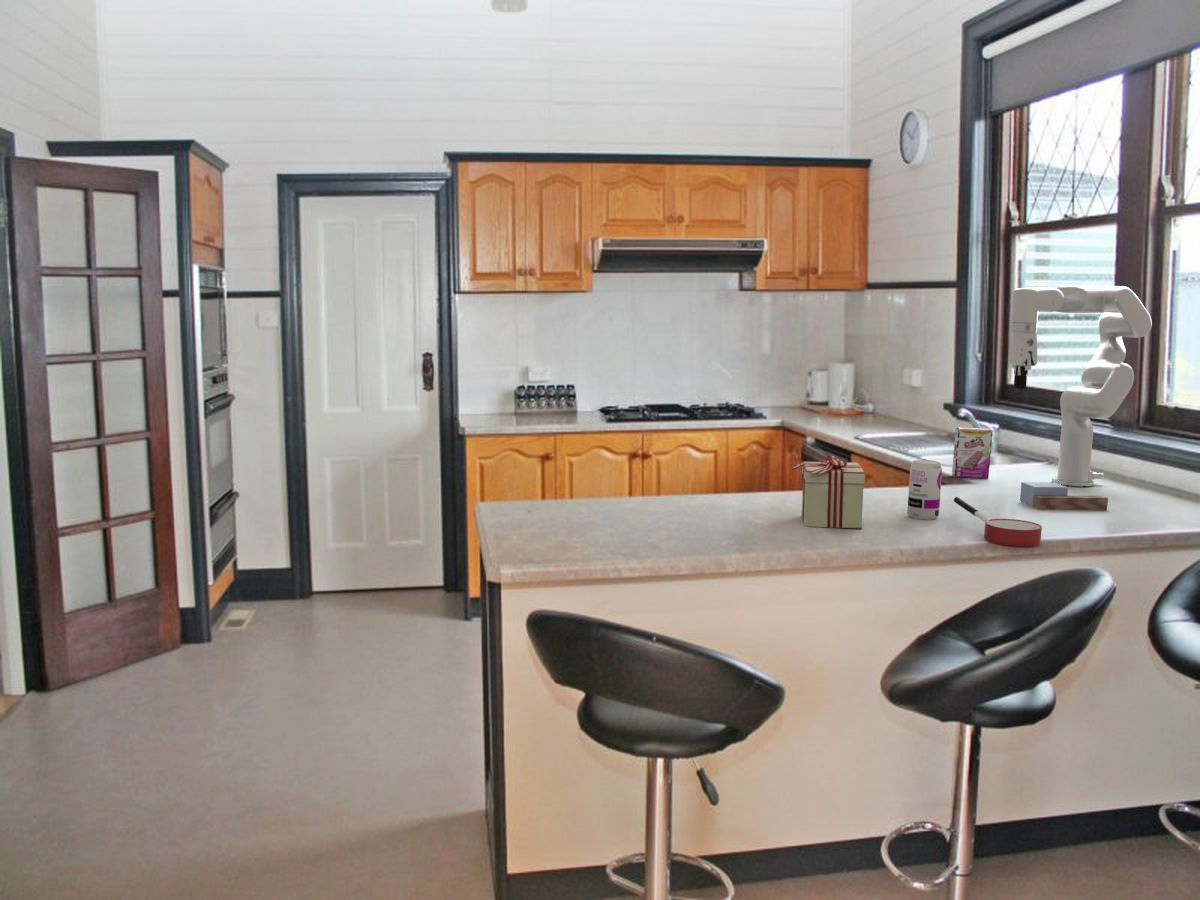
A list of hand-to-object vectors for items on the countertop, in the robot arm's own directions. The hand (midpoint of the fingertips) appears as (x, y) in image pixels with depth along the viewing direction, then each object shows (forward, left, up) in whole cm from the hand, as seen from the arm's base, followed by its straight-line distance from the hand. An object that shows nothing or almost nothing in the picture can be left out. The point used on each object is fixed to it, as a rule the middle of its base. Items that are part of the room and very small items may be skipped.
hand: (1019, 388), depth 339 cm
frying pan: (+36, +66, -32) cm, 81 cm away
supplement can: (+45, +46, -32) cm, 72 cm away
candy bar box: (+5, -21, -32) cm, 38 cm away
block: (+2, +26, -32) cm, 41 cm away
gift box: (+74, +55, -32) cm, 98 cm away
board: (-3, +32, -32) cm, 45 cm away
